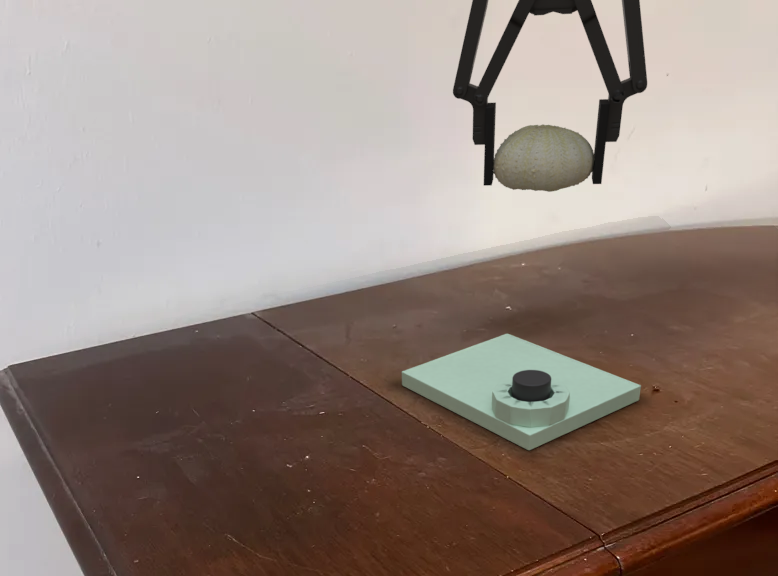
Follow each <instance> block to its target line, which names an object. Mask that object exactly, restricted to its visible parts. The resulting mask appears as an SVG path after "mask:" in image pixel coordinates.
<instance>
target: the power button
mask: <svg viewBox="0 0 778 576" xmlns="http://www.w3.org/2000/svg"><path fill="white" fill-rule="evenodd" d="M550 390H551V376H550V375H549V374H548V373H546V372H543V371H539V370H524V371H520V372H517V373H516V374H514V376H513V378H512V397H513V398H515V399H517V400H519V401H525V402H537V401H544V400H547V399H549V397H550Z"/></svg>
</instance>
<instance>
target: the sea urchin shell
mask: <svg viewBox="0 0 778 576" xmlns="http://www.w3.org/2000/svg"><path fill="white" fill-rule="evenodd" d="M499 144H500V146H498V149H496V153H494V160H493V169H494V172H493V175H494V176H495V177H494V178H495V179H497V181H498V183H499V184H500V185H502V186H504V187H505V188H508V189H511V190H513V191H514V190H521V191H526V190H527V191H528V190H531V191H535V192H536V191H543V192H547V193H551V192H556V191H559V190H561V189H562V190H563V189H567V188H570V187H575V186H578V185H579V184H581V183H583V182H585V180H586V179H589V177H590V176H591V175H592V172H593V166H594V160H595V158H594V149H593V148H592V145H591V143H590V142H589V141H588V139H587V138H586V137H584V136H583V135H582V134H580V133H579V132H577V131H575V130H572V129H569V128H566V127H563V126H558V125H552V124H533V125H531V124H530V125H526V126H523V127H521V128H519V129H517V130H515V131H514V132H512V133H510V134H508V136H507V137H506V138H504V139H503V142H501V143H499Z"/></svg>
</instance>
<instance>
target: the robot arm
mask: <svg viewBox="0 0 778 576" xmlns="http://www.w3.org/2000/svg"><path fill="white" fill-rule="evenodd" d="M488 5H489V0H472V2H471V6H470V10H469V15H468V20H467V23H466V29H465V32H464V38H463V42H462V47H461V52H460V55H459V61H458V65H457V70H456V74H455V79H454V83H453V88H452V95H453V96H454V98H455V99H459V100H463V101H465V102H468V103H469V104H470V105H471V106H472V142H473V144H474V146H484V152H483V153H484V154H483V155H484V157H483V158H484V159H483V186H487V187H488V186H493V181H494V173H493V172H494V169H493V160H494V158H495V145H496V144H495V141H496V116H497V115H496V111H497V102H489V97H490V95H491V92H492V90H493V88H494V86H495V85H496V82H497V80H498V78H499V76H500V74H501V72H502V70H503V68H504V66H505V64H506V61H507V59H508V57H509V55H510V54H511V51H512V49H513V47H514V45H515V43H516V41H517V39H518V37H519V35H520V32H521V31H522V29H523V26H524V25H525V22H526V20H527V19H528V17H529V14H531V15H533V16H545V15H548V14H551V13H557V14H560V15H572V14H573V13H575V12H577V13H578V16H579V18H580V21H581V24H582V26H583V29H584V32H585V35H586V37H587V40H588V42H589V45H590V47H591V50H592V53H593V56H594V58H595V61H596V64H597V66H598V67H597V68H598V69H599V71H600V72H599V73H600V74H601V77H602V80H603V83H604V86H605V88H606V91H607V94H608V96H607V98H603V99H602V98H601V99H599V100H598V107H597V108H598V110H597V120H596V129H595V139H594V140H595V141H594V149H593V153H594V158H595V160H594V166H593V172H591V180H592V181H591V182H592V185H602V181H603V172H604V163H605V152H606V151H605V150H606V144H607V143H617V141H618V139H619V138H620V134H621V126H622V125H621V124H622V115H623V108H624V103H625V102H626V100H627V99H628V98H630V97H631V96H635V95H637V94H641V93H643V92H645V91H646V90H647V87H648V76H647V65H646V64H647V63H646V56H645V55H646V54H645V43H644V35H643V34H644V32H643V22H642V13H641V1H640V0H621V5H622V6H621V7H622V16H623V17H622V18H623V25H624V27H623V28H624V35H625V45H626V54H627V62H628V63H627V64H628V65H627V66H628V73H629V77H628V78H626V79H624V80H623V79H622V80H621V78H620V76H619V72H618V69H617V67H616V64H615V62H614V59H613V57H612V54H611V51H610V49H609V46H608V43H607V40H606V37H605V35H604V32H603V29H602V26H601V23H600V21H599V18H598V16H597V13H596V10H595V7H594V4H593V2H592V0H518V1H517V3H516V6H515V8H514V10H513V11H512V14H511V16H510V18H509V20H508V23H507V24H506V26H505V28H504V31H503V33H502V35H501V37H500V40H499V41H498V43H497V45H496V47H495V50H494V52H493V55H492V57H491V58H490V61H489V62H488V64H487V67H486V68H485V71H484V73H483V75H482V77H481V80H480V81H479V84H478V85H476V84H473V83H471V79H472V76H473V70H474V66H475V62H476V58H477V53H478V49H479V45H480V40H481V35H482V31H483V27H484V23H485V18H486V15H487V10H488Z"/></svg>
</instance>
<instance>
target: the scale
mask: <svg viewBox="0 0 778 576" xmlns="http://www.w3.org/2000/svg"><path fill="white" fill-rule="evenodd" d="M524 370H539V371H543V372H546V373H548V374H549V375H550V376H551V390H550V397H549V399H547V400H544V401H537V402H525V401H519V400H517V399H515V398H513V397H512V378H513V376H514V374H516V373H517V372H520V371H524ZM401 385H402V387H404V388H406V389H408V390H409V391H412V392H414V393H416V394H418V395H420V396H422V397H424V398H426V399H428V400H429V401H432V402H433V403H435V404H437V405H439V406H441V407H443V408H444V409H447V410H449V411H451V412H453V413H454V414H457V415H458V416H461V417H463V418H465V419H466V420H469V421H470V422H472V423H474V424H477V425H478V426H479V427H482V428H484V429H486V430H488V431H490V432H491V433H494V434H495V435H497V436H500V437H501V438H503V439H505V440H507V441H509V442H511V443H513V444H515V445H517V446H519V447H520V448H523V449H524V450H526V451H532V450H534V449H535V448H538V447H540V446H542V445H545V444H547V443H549V442H551V441H553V440H556V439H558V438H559V437H562V436H564V435H566V434H568V433H571V432H573V431H575V430H577V429H579V428H581V427H584V426H586V425H588V424H591V423H593V422H595V421H596V420H599V419H601V418H603V417H606V416H608V415H610V414H612V413H614V412H616V411H619V410H621V409H623V408H626V407H628V406H629V405H632V404H634V403H636V402H639V400H640V395H641V390H642V385H641V384H640V383H639V384H638V383H636V382H633V381H630V380H629V379H625V378H623V377H620V376H618V375H616V374H613V373H610V372H608V371H605V370H603V369H601V368H597V367H595V366H592V365H590V364H588V363H584V362H582V361H579V360H577V359H574V358H572V357H569V356H566V355H564V354H561V353H560V352H556V351H554V350H551V349H549V348H546V347H543V346H541V345H538V344H535V343H533V342H531V341H528V340H526V339H523V338H521V337H518V336H515V335H513V334H509V333H504V334H501V335H499V336H496V337H493V338H491V339H488V340H485V341H481V342H480V343H477V344H474V345H472V346H469V347H466V348H463V349H460V350H457V351H455V352H451V353H449V354H446V355H443V356H441V357H438V358H435V359H432V360H430V361H427V362H424V363H422V364H419V365H416V366H413V367H410V368H407V369H404V370H402V371H401Z"/></svg>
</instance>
